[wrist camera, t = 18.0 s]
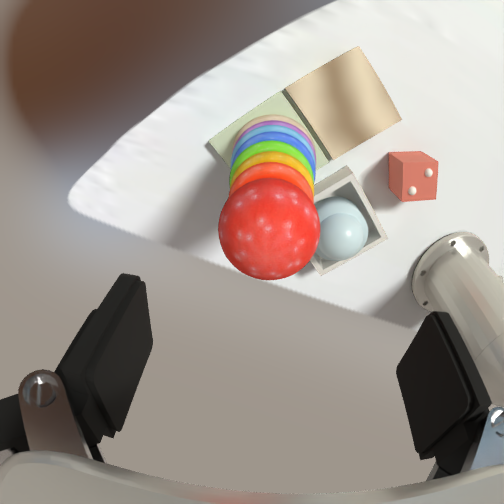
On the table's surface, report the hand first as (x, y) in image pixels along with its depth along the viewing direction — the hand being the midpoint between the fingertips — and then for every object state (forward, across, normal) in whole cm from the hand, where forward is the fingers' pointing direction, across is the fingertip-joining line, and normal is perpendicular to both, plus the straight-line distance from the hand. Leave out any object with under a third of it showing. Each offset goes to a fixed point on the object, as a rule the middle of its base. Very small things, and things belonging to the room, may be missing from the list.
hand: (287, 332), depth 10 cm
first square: (+24, -6, -6) cm, 26 cm away
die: (+24, -14, -1) cm, 28 cm away
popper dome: (+23, -7, +6) cm, 25 cm away
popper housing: (+24, -7, +6) cm, 26 cm away
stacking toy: (+24, +1, 0) cm, 24 cm away
